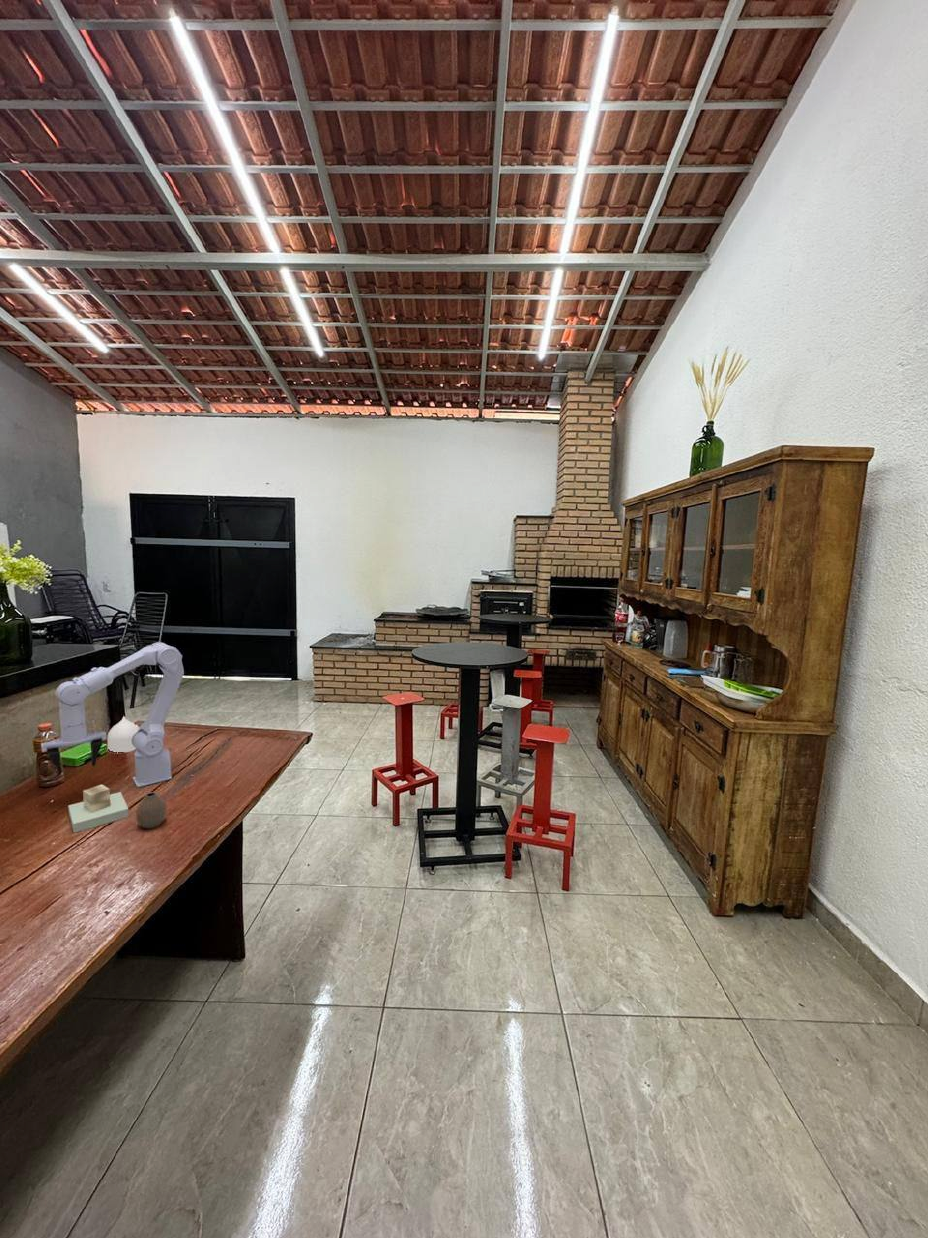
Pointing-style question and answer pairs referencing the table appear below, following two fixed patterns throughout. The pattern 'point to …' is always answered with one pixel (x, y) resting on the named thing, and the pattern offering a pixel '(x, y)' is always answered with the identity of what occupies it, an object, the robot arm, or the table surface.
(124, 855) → the table surface
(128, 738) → the teardrop
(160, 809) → the vase
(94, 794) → the beech block
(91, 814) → the base slab
